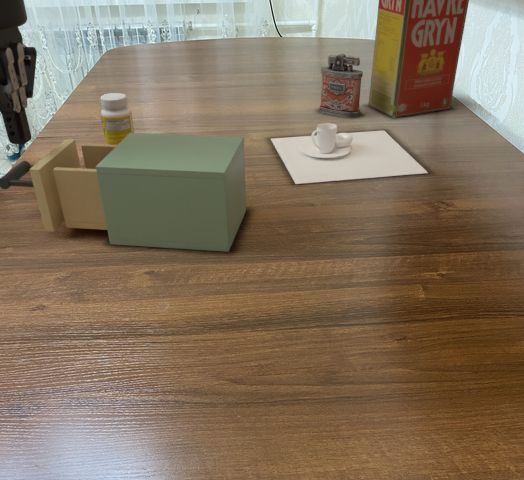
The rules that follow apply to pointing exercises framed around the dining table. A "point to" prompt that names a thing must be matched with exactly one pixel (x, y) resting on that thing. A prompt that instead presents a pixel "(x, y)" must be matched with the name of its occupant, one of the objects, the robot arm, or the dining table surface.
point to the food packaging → (416, 55)
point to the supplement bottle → (116, 117)
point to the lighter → (341, 86)
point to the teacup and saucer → (344, 156)
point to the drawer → (65, 185)
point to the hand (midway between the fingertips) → (20, 142)
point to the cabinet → (174, 191)
